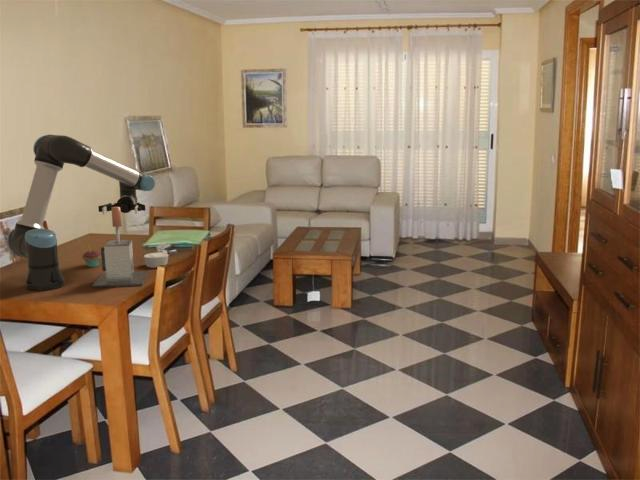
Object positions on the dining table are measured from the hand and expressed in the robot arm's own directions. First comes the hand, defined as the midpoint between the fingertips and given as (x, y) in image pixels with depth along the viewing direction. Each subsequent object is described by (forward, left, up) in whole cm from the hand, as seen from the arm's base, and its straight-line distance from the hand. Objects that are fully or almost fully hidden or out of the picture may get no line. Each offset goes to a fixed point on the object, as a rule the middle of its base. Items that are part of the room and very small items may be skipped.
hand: (119, 211), depth 266 cm
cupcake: (-17, +20, -29) cm, 40 cm away
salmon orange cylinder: (0, -9, -21) cm, 23 cm away
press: (0, -10, -29) cm, 31 cm away
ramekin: (+13, +16, -29) cm, 36 cm away
